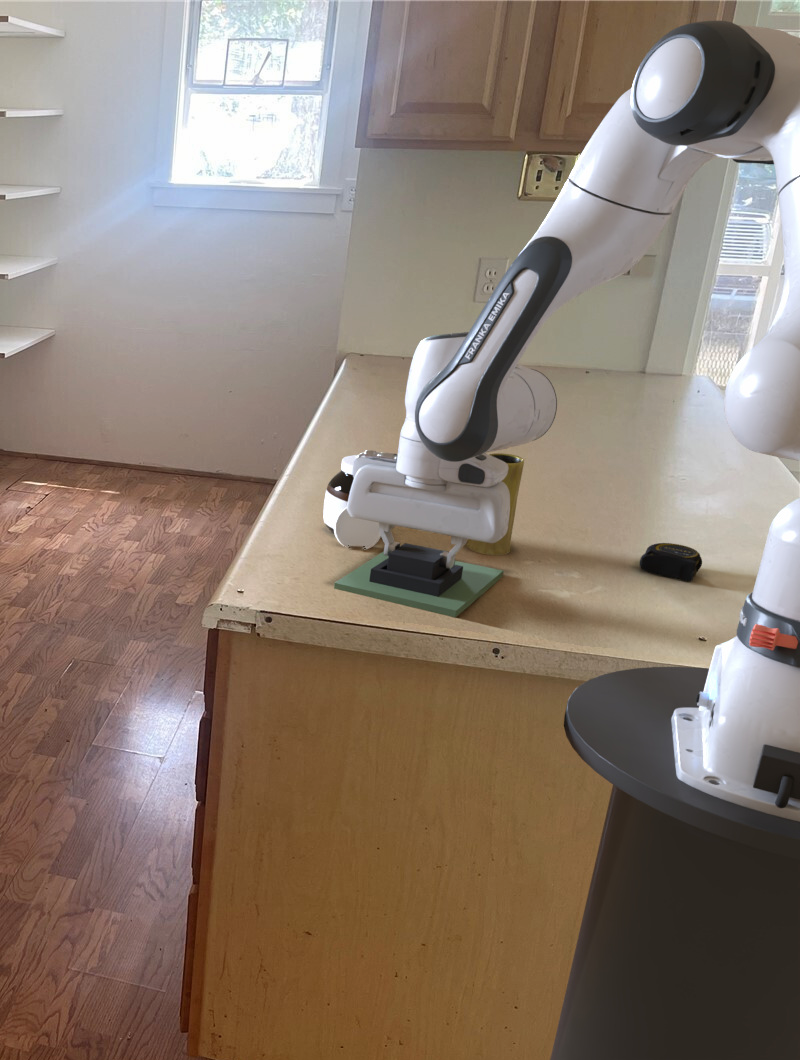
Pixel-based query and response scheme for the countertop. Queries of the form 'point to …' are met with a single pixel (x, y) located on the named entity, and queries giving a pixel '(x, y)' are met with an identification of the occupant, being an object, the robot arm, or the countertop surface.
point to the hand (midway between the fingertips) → (418, 561)
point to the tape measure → (671, 561)
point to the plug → (416, 561)
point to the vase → (513, 485)
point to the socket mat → (421, 586)
